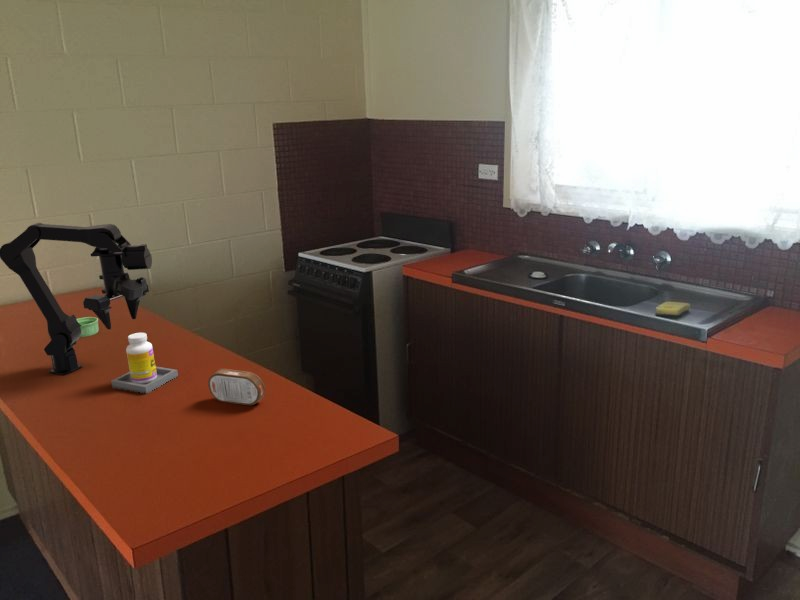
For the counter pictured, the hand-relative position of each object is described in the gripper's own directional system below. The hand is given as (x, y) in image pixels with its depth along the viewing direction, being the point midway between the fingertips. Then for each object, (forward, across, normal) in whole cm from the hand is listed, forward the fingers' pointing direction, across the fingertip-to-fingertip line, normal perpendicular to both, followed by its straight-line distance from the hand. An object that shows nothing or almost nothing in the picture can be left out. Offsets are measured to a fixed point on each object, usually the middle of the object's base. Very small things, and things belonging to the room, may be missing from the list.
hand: (121, 324), depth 192 cm
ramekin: (+13, +18, +37) cm, 43 cm away
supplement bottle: (+13, -7, -13) cm, 19 cm away
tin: (+14, -9, -45) cm, 48 cm away
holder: (+13, -7, -13) cm, 20 cm away
